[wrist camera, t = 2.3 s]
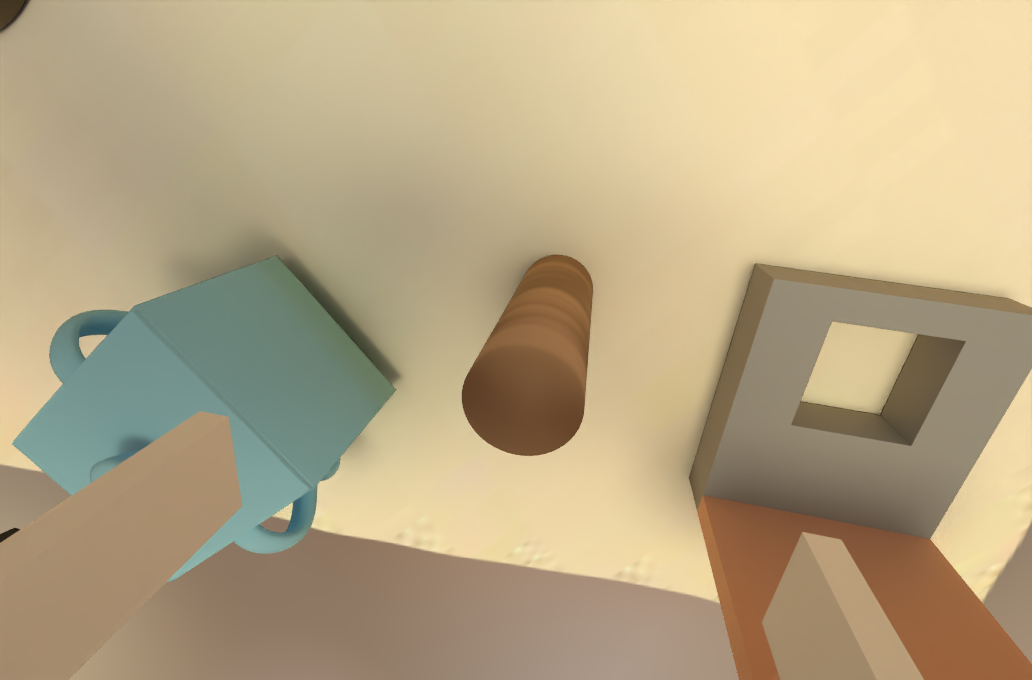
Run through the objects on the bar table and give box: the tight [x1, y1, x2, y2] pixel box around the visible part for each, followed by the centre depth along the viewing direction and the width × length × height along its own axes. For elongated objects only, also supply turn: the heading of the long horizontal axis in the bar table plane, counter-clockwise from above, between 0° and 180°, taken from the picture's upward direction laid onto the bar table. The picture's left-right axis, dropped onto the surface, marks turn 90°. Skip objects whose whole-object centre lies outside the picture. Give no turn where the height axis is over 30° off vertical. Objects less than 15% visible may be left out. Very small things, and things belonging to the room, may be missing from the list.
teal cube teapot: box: [12, 256, 396, 582], centre depth 28 cm, size 18×16×13 cm
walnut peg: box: [462, 255, 593, 456], centre depth 22 cm, size 4×4×13 cm
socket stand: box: [689, 264, 1032, 680], centre depth 20 cm, size 15×13×16 cm
